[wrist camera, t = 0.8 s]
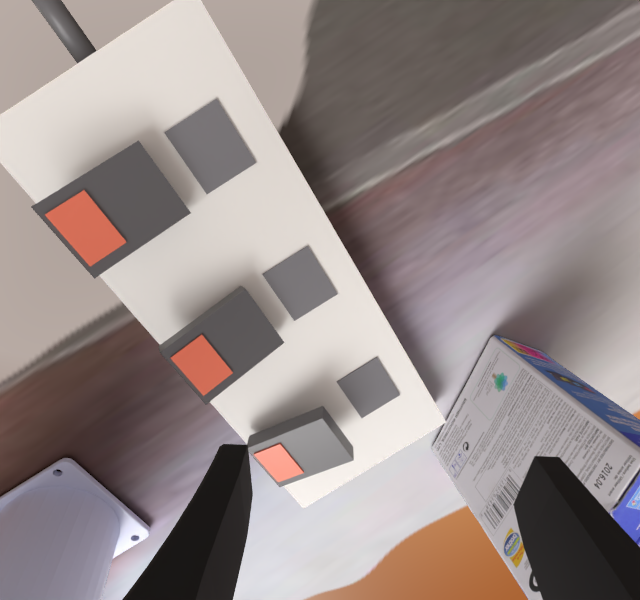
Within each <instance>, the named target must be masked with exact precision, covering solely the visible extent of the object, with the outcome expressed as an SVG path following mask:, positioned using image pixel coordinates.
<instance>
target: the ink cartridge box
mask: <svg viewBox="0 0 640 600" xmlns="http://www.w3.org/2000/svg"><path fill="white" fill-rule="evenodd" d="M432 451H433V453H434V455H435V456H436V457H437V459H438V460H439V462H440V464H441V465H442V467H443V468H444V470H445V471H446V473H447V474H448V476H449V477H450V479H451V481H452V482H453V483H454V485H455V487H456V488H457V490H458V491H459V493H460V494H461V496H462V497H463V499H464V501H465V502H466V504H467V505H468V507H469V508H470V510H471V511H472V513H473V514H474V516H475V517H476V519H477V520H478V521H479V523H480V525H481V526H482V527H483V529H484V531H485V533H486V534H487V536H488V537H489V539H490V540H491V542H492V543H493V545H494V547H495V548H496V550H497V551H498V553H499V554H500V556H501V557H502V559H503V560H504V562H505V564H506V565H507V567H508V568H509V570H510V571H511V573H512V575H513V576H514V578H515V579H516V581H517V582H518V584H519V585H520V587H521V589H522V590H523V592H524V593H525V595H526V596H527V598H528V600H543V599H542V596H541V593H540V591H539V588H538V585H537V582H536V580H535V577H534V574H533V571H532V569H531V566H530V563H529V561H528V558H527V555H526V552H525V549H524V546H523V542H522V538H521V534H520V531H519V527H518V522H517V518H516V514H515V509H514V505H513V504H514V502H515V499H516V497H517V495H518V493H519V490H520V488H521V486H522V484H523V481H524V479H525V477H526V474H527V472H528V470H529V468H530V465H531V463H532V461H533V459H534V456H548V457H560V458H561V460H562V461H563V462H564V463H565V464H566V465H567V466H568V467H569V469H570V470H571V471H572V472H573V473H574V474H575V475H576V477H577V478H578V479H579V480H580V481H581V482H582V483H583V485H584V486H585V487H586V488H587V489H588V490H589V491H590V493H591V494H592V495H593V496H594V497H595V498H596V499H597V500H598V502H599V503H600V504H601V505H602V506H603V507H604V508H605V509H606V511H607V512H608V513H609V514H610V515H611V516H612V517H613V518H614V520H615V521H616V522H617V523H618V524H619V525H620V526H621V527H622V528H623V529H624V531H625V532H626V533H627V534H628V535H629V536H630V537H631V538H632V539H633V540H634V541H635V542H636V543H637V545H638V546H639V547H640V420H639V419H637V418H636V417H635V416H633V415H632V414H630V413H629V412H627V411H626V410H624V409H623V408H622V407H620V406H619V405H617V404H616V403H614V402H613V401H611V400H610V399H608V398H607V397H606V396H604V395H603V394H601V393H600V392H598V391H597V390H595V389H594V388H593V387H591V386H590V385H588V384H587V383H585V382H584V381H583V380H581V379H580V378H578V377H577V376H575V375H574V374H573V373H571V372H570V371H568V370H567V369H566V368H564V367H563V366H561V365H560V364H558V363H557V362H556V361H554V360H553V359H551V358H550V357H549V356H548V355H546V354H545V353H544V352H542V351H539V350H537V349H534V348H531V347H529V346H526V345H523V344H520V343H518V342H515V341H512V340H509V339H506V338H503V337H500V336H497V335H494V336H492V337H491V338H490V340H489V342H488V344H487V346H486V347H485V349H484V351H483V353H482V355H481V357H480V359H479V361H478V362H477V364H476V366H475V368H474V370H473V372H472V374H471V376H470V378H469V379H468V381H467V383H466V385H465V387H464V389H463V391H462V392H461V394H460V396H459V398H458V400H457V402H456V404H455V406H454V407H453V409H452V411H451V413H450V415H449V417H448V418H447V420H446V423H445V424H444V426H443V428H442V430H441V432H440V434H439V436H438V438H437V439H436V441H435V443H434V445H433V446H432Z"/></svg>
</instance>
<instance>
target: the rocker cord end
mask: <svg viewBox="0 0 640 600" xmlns="http://www.w3.org/2000/svg"><path fill="white" fill-rule="evenodd" d="M32 208H33V210H35V212H36V213H37V214H38V215H39V216H40V217H41V219H43V221H44V222H45V223H46V224H47V225H48V227H50V229H51V230H52V231H53V232H54V233H55V234H56V236H57V237H58V238H59V239H60V240H61V241H62V242H63V243H64V244H65V246H66V247H67V248H68V249H69V250H70V251H71V253H72V254H74V256H75V257H76V258H77V259H78V260H79V262H80V263H81V264H82V265H83V266H84V267H85V268H86V270H87V271H88V272H89V273H90V274H91V275H92V276H93V277H94V278H96V277H97V276H99V275H100V274H102V273H103V272H105V271H106V270H108V269H109V268H111V267H112V266H114V265H115V264H116V263H118V262H119V261H121V260H122V259H124V258H125V257H127V256H128V255H130V254H131V253H133V252H134V251H136V250H137V249H139V248H140V247H142V246H143V245H145V244H146V243H148V242H149V241H150V240H152V239H153V238H155V237H156V236H158V235H159V234H161V233H162V232H164V231H165V230H167V229H168V228H170V227H171V226H173V225H174V224H176V223H177V222H179V221H180V220H181V219H183V218H184V217H186V216H187V215H189V214H190V213H191V212H190V211H189V209H188V208H187V207H186V205H185V204H184V203H183V201H182V200H181V198H180V197H179V196H178V194H177V193H176V191H175V190H174V189H173V187H172V186H171V185H170V183H169V182H168V180H167V179H166V178H165V176H164V175H163V173H162V172H161V171H160V169H159V168H158V166H157V165H156V164H155V162H154V161H153V160H152V158H151V157H150V155H149V154H148V153H147V151H146V150H145V148H144V147H143V146H142V144H141V143H140V142H139V140H138V141H137V142H135V143H133V144H132V145H130V146H129V147H127V148H125V149H124V150H122V151H121V152H119V153H117V154H116V155H114V156H112V157H111V158H109V159H108V160H106V161H104V162H103V163H101V164H100V165H98V166H96V167H95V168H93V169H91V170H90V171H88V172H87V173H85V174H83V175H82V176H80V177H79V178H77V179H75V180H74V181H72V182H70V183H69V184H67V185H66V186H64V187H62V188H61V189H59V190H58V191H56V192H54V193H53V194H51V195H49V196H48V197H46V198H45V199H43V200H41V201H40V202H38V203H37V204H35V205H33V206H32Z"/></svg>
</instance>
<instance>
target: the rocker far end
mask: <svg viewBox="0 0 640 600" xmlns="http://www.w3.org/2000/svg"><path fill="white" fill-rule="evenodd" d="M247 445H248V452H249V453H250V454H251V455H252V456H253V457H254V459H255V460H256V461H257V462H258V463H259V464H260V465H261V466H262V468H263V469H264V470H265V471H266V472H267V473H268V474H269V476H270V477H271V478H272V479H273V480H274V481H275V482H276V483H277V485H278V486H279V487H282V486H284V485H287V484H290V483H293V482H295V481H298V480H301V479H304V478H306V477H309V476H312V475H315V474H318V473H320V472H323V471H326V470H329V469H331V468H334V467H337V466H340V465H342V464H345V463H348V462H351V461H353V460H354V454H353V446H352V444H351V443H350V442H349V440H348V439H347V438H346V436H345V435H344V434H343V432H342V431H341V429H340V428H339V427H338V425H337V424H336V423H335V421H334V420H333V418H332V417H331V416H330V414H329V413H328V412H327V410H326V409H325V408H324V406H321V407H318V408H316V409H313V410H311V411H308V412H306V413H304V414H301V415H299V416H296V417H294V418H291V419H289V420H286V421H284V422H282V423H279V424H277V425H274V426H272V427H269V428H267V429H264V430H262V431H260V432H257V433H255V434H252V435H250V436H249V438H248V443H247Z"/></svg>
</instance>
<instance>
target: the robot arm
mask: <svg viewBox="0 0 640 600" xmlns="http://www.w3.org/2000/svg"><path fill="white" fill-rule="evenodd" d="M56 469H59V470H61V471H62V472H58V471H56ZM252 495H253V493H252V483H251V473H250V463H249V453H248V445H234V444H223V445H222V446H220V447H219V449H218V452H217V454H216V456H215V458H214V460H213V462H212V464H211V466H210V468H209V470H208V471H207V473H206V475H205V477H204V479H203V481H202V482H201V484H200V486H199V487H198V489H197V491H196V493H195V494H194V496H193V498H192V499H191V501H190V503H189V504H188V506H187V508H186V509H185V511H184V512H183V514H182V516H181V517H180V519H179V520H178V522H177V524H176V525H175V527H174V528H173V530H172V531H171V533H170V534H169V536H168V537H167V539H166V540H165V542H164V543H163V545H162V546H161V547H160V549H159V550H158V552H157V553H156V555H155V556H154V558H153V559H152V561H151V562H150V563H149V565H148V566H147V568H146V569H145V570H144V572H143V573H142V575H141V576H140V577H139V579H138V580H137V581H136V583H135V584H134V585H133V587H132V588H131V589H130V591H129V592H128V593H127V595H126V596H125V597H124V598H123V600H233V596H234V592H235V587H236V583H237V579H238V574H239V570H240V566H241V561H242V557H243V552H244V548H245V543H246V539H247V533H248V526H249V518H250V511H251V503H252ZM513 505H514V509H515V514H516V518H517V522H518V527H519V531H520V534H521V538H522V542H523V546H524V549H525V552H526V555H527V558H528V561H529V563H530V566H531V569H532V571H533V574H534V577H535V580H536V582H537V585H538V588H539V591H540V593H541V596H542V599H543V600H640V547H639V546H638V545H637V543H636V542H635V541H634V540H633V539H632V538H631V537H630V536H629V535H628V534H627V533H626V532H625V531H624V529H623V528H622V527H621V526H620V525H619V524H618V523H617V522H616V521H615V520H614V518H613V517H612V516H611V515H610V514H609V513H608V512H607V511H606V509H605V508H604V507H603V506H602V505H601V504H600V503H599V502H598V500H597V499H596V498H595V497H594V496H593V495H592V494H591V493H590V491H589V490H588V489H587V488H586V487H585V486H584V485H583V483H582V482H581V481H580V480H579V479H578V478H577V477H576V475H575V474H574V473H573V472H572V471H571V470H570V469H569V467H568V466H567V465H566V464H565V463H564V462H563V461H562V460H561V458H560V457H548V456H534V459H533V461H532V463H531V465H530V468H529V470H528V472H527V474H526V477H525V479H524V481H523V484H522V486H521V488H520V490H519V493H518V495H517V497H516V499H515V502H514V504H513ZM149 534H150V527H149V526H148V525H147V524H146V523H145V522H143V521H142V520H141V519H140V518H139V517H138V516H137V515H135V514H134V513H133V512H132V511H131V510H130V509H129V508H127V507H126V506H125V505H124V504H123V503H122V502H121V501H119V500H118V499H117V498H116V497H115V496H114V495H113V494H111V493H110V492H109V491H108V490H107V489H106V488H105V487H103V486H102V485H101V484H100V483H99V482H98V481H97V480H95V479H94V478H93V477H92V476H91V475H90V474H89V473H87V472H86V471H85V470H84V469H83V468H82V467H81V466H79V465H78V464H77V463H76V462H75V461H74V460H72V459H70V458H63V459H60V460H59V461H57V462H56V463H54V464H52V465H51V466H49V467H48V468H46V469H44V470H43V471H41V472H40V473H38V474H36V475H35V476H33V477H32V478H30V479H28V480H27V481H25V482H24V483H22V484H20V485H19V486H17V487H15V488H14V489H12V490H11V491H9V492H7V493H6V494H4V495H3V496H1V497H0V600H101V599H102V596H103V592H104V588H105V585H106V581H107V578H108V574H109V570H110V567H111V563H112V559H113V558H114V557H116V556H118V555H119V554H121V553H123V552H124V551H126V550H127V549H129V548H131V547H132V546H134V545H136V544H137V543H139V542H140V541H142V540H144V539H145V538H147V537H148V536H149ZM134 535H137V536H134Z"/></svg>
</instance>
